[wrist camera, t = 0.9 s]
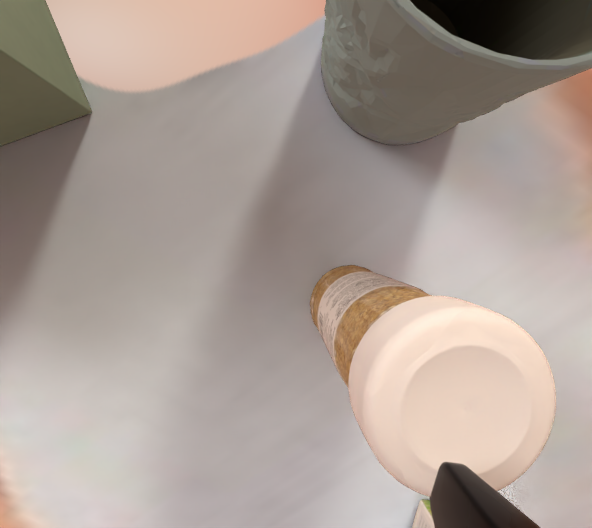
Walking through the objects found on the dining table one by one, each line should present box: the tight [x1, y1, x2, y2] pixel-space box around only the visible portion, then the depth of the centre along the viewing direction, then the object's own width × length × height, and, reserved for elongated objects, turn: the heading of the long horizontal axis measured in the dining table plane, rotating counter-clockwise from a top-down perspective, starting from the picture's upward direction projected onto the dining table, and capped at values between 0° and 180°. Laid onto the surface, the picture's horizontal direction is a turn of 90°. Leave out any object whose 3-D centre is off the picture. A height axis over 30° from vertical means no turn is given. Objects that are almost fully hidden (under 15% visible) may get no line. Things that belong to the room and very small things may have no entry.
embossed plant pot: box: [321, 0, 592, 145], centre depth 15 cm, size 10×10×12 cm
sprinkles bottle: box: [310, 265, 556, 497], centre depth 15 cm, size 5×5×13 cm
